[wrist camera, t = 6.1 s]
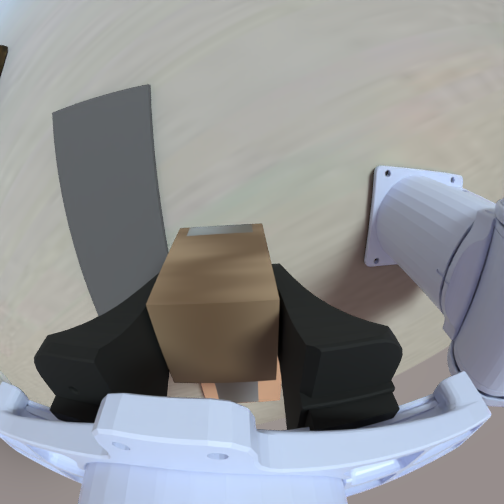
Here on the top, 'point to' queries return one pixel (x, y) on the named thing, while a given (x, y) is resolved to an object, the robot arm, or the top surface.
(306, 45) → the top surface
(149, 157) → the tool mat
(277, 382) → the tile
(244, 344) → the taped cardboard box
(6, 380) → the french press
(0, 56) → the hand tool
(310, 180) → the top surface
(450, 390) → the robot arm
